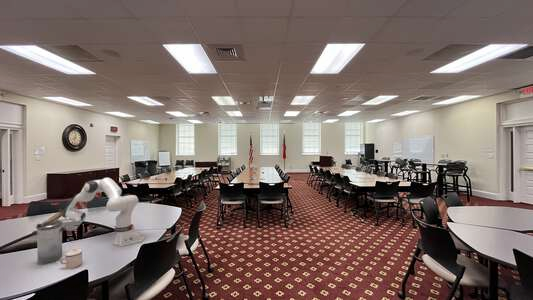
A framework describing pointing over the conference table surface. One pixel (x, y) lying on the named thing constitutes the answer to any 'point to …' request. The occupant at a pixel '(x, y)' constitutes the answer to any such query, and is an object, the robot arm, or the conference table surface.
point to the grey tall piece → (49, 242)
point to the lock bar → (56, 216)
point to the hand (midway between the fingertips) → (63, 219)
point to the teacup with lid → (73, 258)
